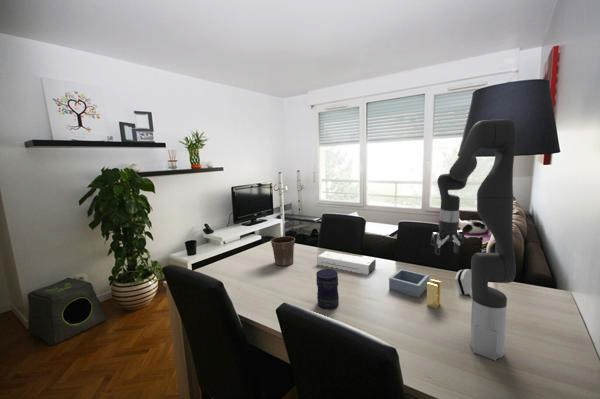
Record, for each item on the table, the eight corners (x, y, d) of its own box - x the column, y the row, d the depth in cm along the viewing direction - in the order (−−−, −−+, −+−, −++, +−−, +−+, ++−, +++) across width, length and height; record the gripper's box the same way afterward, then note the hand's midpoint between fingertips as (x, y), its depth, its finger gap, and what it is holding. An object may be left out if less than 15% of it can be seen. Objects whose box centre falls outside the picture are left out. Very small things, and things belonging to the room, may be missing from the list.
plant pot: (269, 260, 181) (268, 238, 179) (292, 257, 186) (291, 234, 184) (274, 269, 166) (273, 244, 164) (299, 265, 171) (298, 241, 168)
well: (418, 298, 123) (419, 285, 122) (389, 289, 133) (389, 278, 132) (428, 286, 134) (429, 275, 133) (400, 279, 143) (400, 268, 143)
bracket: (436, 308, 114) (437, 285, 113) (426, 305, 117) (427, 283, 115) (440, 303, 118) (440, 281, 116) (430, 300, 120) (430, 279, 119)
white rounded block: (471, 297, 121) (463, 276, 123) (460, 297, 125) (452, 276, 126) (480, 284, 133) (472, 265, 134) (469, 285, 136) (462, 266, 138)
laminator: (317, 265, 170) (317, 256, 169) (326, 259, 180) (326, 250, 179) (369, 275, 151) (369, 265, 150) (376, 268, 161) (376, 258, 160)
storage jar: (314, 301, 125) (312, 271, 123) (332, 296, 128) (331, 267, 126) (323, 312, 116) (321, 279, 114) (343, 306, 119) (342, 275, 117)
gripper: (438, 223, 111) (436, 258, 115) (470, 220, 112) (467, 255, 116) (428, 218, 118) (426, 251, 122) (458, 215, 120) (455, 248, 123)
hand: (446, 253), depth 119 cm, fingers open, 8 cm apart
